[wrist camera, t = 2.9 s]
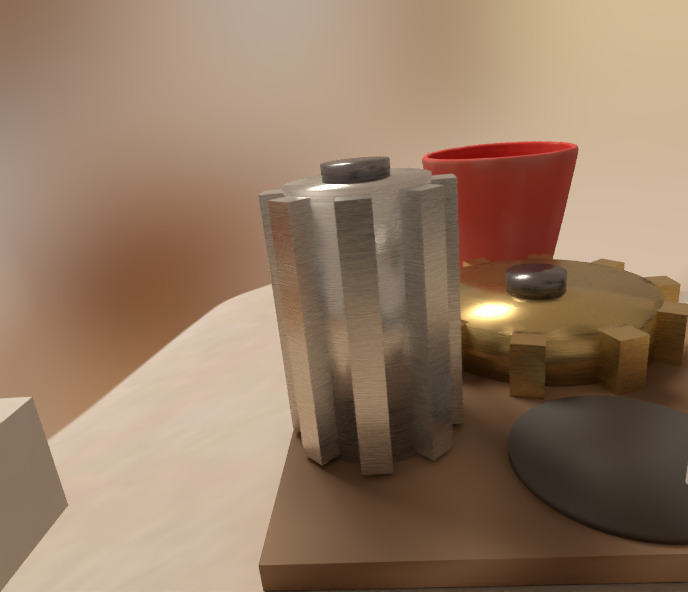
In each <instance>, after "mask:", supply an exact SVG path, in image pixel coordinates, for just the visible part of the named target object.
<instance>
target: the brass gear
mask: <svg viewBox="0 0 688 592" xmlns="http://www.w3.org/2000/svg"><path fill="white" fill-rule="evenodd" d="M459 273H460V312H461V352H462V374H464V373H466V372H468V373H470V374H473V375H477V376H480V377H483V378H487V379H492V380H496V381H500V382H507V383H510V395H509V396H512V397H522V398H531V399H541V400H544V394H545V386H547V387H565V386H581V385H591V384H598V385H600V386H602V387H603V388H605V389H606V390H608V391H609V392H611V393H612V394H614V395H616V396H618V395H622V394H626V393H630V392H634V391H639V390H643V389H645V380H646V371H647V365H649V364H650V363H651V362H652V361H653V362H658V363H663V364H669V365H674V366H679V367H681V366H682V364H683V362H684V359H685V357H686V355H687V347H688V304H682V303H678V300H679V292H680V284H679V283H677V282H676V281H674V280H672V279H670V278H668V277H667V276H658V277H646V278H643V277H641V276H638V275H636V274H634V273H630V272H628V271H625V270H624V263H623V262H618V261H612V260H606V259H600V260H597V261H594V262H592V263H587V262H579V261H569V260H554V259H552V254H529V256H528V259H519V260H505V261H495V262H491V261H489V260H486V259H484V258H478V259H472V260H467V261H463V268H459Z"/></svg>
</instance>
